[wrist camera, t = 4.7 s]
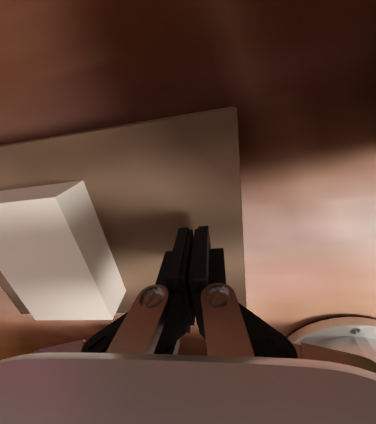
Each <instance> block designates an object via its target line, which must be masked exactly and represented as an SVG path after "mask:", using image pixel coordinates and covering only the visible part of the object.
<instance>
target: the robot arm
mask: <svg viewBox="0 0 376 424" xmlns="http://www.w3.org/2000/svg"><path fill="white" fill-rule="evenodd" d="M195 316H196V321H197V325H198V327H199V333H200V334H201V335H202V336H203V337H204V338H205V339H206V345H207V353H208V355H177V354H178V350H179V347H180V341H181V340H180V338H181V337H182V336H183V335H184V334H185V333H190V326H191V325H194V323H195ZM0 424H376V320H375V319H370V318H363V317H339V318H331V319H326V320H321V321H318V322H315V323H312V324H309V325H307V326H305V327H303V328H300V329H298V330H297V331H296V332H294V333H293V334H291V335H290V336H289V337H288V338H286V337H285V336H284V335H282V334H281V333H279V332H278V331H277V330H275V329H274V328H273V327H271V326H270V325H268V324H267V323H266V322H264V321H263V320H262V319H260V318H259V317H258V316H256V315H255V314H253V313H252V312H251V311H249V310H248V309H247V308H245V307H244V306H242V305H241V304H240V303H238V301H237V297H236V294H235V292H234V290H233V289H232V288H231V287H230V286H229V285H227V284H226V272H225V260H224V248H213V249H211V243H210V235H209V227H208V226H199V227H198V229H195V233H194V235H193V230H192V229H190V230H189V227H183V228H179V229H178V232H177V236H176V240H175V244H174V247H173V251H166V252H165V255H164V258H163V261H162V264H161V267H160V271H159V274H158V277H157V280H156V283H155V285H151V286H148V287H146V288H144V289H143V290H142V291H140V293H139V294H138V296H137V297H136V299H135V301H134V303H133V304H132V306H131V308H130V310H129V311H128V312H127V313H126V314H124V315H123V316H121V317H120V318H118V319H117V320H115V321H114V322H112V323H111V324H109V325H108V326H107V327H105V328H104V329H102V330H101V331H99V332H98V333H96V334H95V335H94V336H92V337H91V338H90V339H89V340H88V341H85V339H83V340H78V341H74V342H69V343H65V344H60V345H56V346H52V347H47V348H43V349H40V350H37V351H35V352H34V353H32V354H26V355H19V356H15V357H11V358H7V359H3V360H0Z"/></svg>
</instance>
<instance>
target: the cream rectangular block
mask: <svg viewBox="0 0 376 424" xmlns="http://www.w3.org/2000/svg"><path fill="white" fill-rule="evenodd" d="M0 271H1V273H2V274H3V276H4V277H5V278H6V280H7V281H8V283H9V284H10V285H11V287H12V288H13V290H14V291H15V292H16V294H17V295H18V297H19V298H20V299H21V301H22V302H23V304H24V305H25V306H26V308H27V309H28V311H29V312H30V314H31V315H32V316H33V318H34V319H35V320H113V318H114V316H115V314H116V312H117V309H118V307H119V305H120V303H121V301H122V299H123V297H124V294H125V292H126V289H125V286H124V284H123V281H122V279H121V276H120V274H119V271H118V268H117V266H116V263H115V261H114V258H113V256H112V253H111V250H110V248H109V245H108V243H107V240H106V238H105V235H104V232H103V230H102V227H101V225H100V222H99V220H98V217H97V214H96V212H95V209H94V207H93V204H92V202H91V199H90V196H89V194H88V191H87V189H86V186H85V184H84V181H83V180H82V181H74V182H66V183H58V184H50V185H42V186H34V187H26V188H18V189H10V190H2V191H0Z"/></svg>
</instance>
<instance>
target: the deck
mask: <svg viewBox="0 0 376 424" xmlns="http://www.w3.org/2000/svg"><path fill="white" fill-rule="evenodd" d="M82 180H83V181H84V184H85V186H86V189H87V191H88V194H89V196H90V199H91V202H92V204H93V207H94V209H95V212H96V214H97V217H98V220H99V222H100V225H101V227H102V230H103V232H104V235H105V238H106V240H107V243H108V245H109V248H110V250H111V253H112V256H113V258H114V261H115V263H116V266H117V268H118V271H119V274H120V276H121V279H122V281H123V284H124V286H125V289H126V292H125V294H124V297H123V299H122V301H121V303H120V305H119V307H118V309H117V312H116V313H127V312H128V311H129V310H130V308H131V306H132V304H133V303H134V301H135V299H136V297H137V296H138V294H139V293H140V291H142V290H143V289H144V288H146V287H148V286H151V285H155V283H156V280H157V277H158V274H159V271H160V267H161V264H162V261H163V258H164V255H165V252H166V251H173V247H174V244H175V240H176V236H177V232H178V229H179V228H183V227H189V230H190V229H192V230H193V235H194V233H195V229H198V227H199V226H208V227H209V235H210V243H211V249H213V248H224V260H225V272H226V284H227V285H229V286H230V287H231V288H232V289H233V290H234V292H235V294H236V297H237V301H238V303H240V304H241V305H242V306H244V307H245V308H246V289H245V268H244V246H243V224H242V202H241V180H240V158H239V136H238V114H237V108H236V107H232V106H230V107H224V108H218V109H212V110H206V111H200V112H194V113H188V114H182V115H176V116H170V117H164V118H158V119H152V120H146V121H140V122H134V123H128V124H122V125H116V126H111V127H105V128H99V129H93V130H87V131H81V132H75V133H69V134H63V135H57V136H51V137H45V138H39V139H33V140H27V141H21V142H15V143H9V144H3V145H0V191H2V190H10V189H18V188H26V187H34V186H42V185H50V184H58V183H66V182H74V181H82ZM0 286H1V287H2V288H3V290H4V291H5V292H6V294H7V295H8V297H9V298H10V299H11V301H12V302H13V303H14V305H15V306H16V307H17V309H18V310H19V311H20V313H21V314H30V312H29V311H28V309H27V308H26V306H25V305H24V304H23V302H22V301H21V299H20V298H19V297H18V295H17V294H16V292H15V291H14V290H13V288H12V287H11V285H10V284H9V283H8V281H7V280H6V278H5V277H4V276H3V274H2V273H1V271H0Z"/></svg>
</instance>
